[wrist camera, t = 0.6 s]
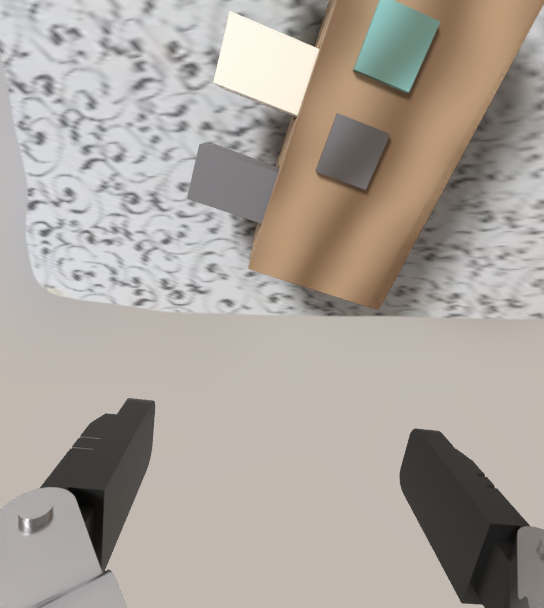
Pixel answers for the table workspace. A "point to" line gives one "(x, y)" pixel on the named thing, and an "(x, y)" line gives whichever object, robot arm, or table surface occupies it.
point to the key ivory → (264, 65)
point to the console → (381, 136)
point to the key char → (232, 182)
